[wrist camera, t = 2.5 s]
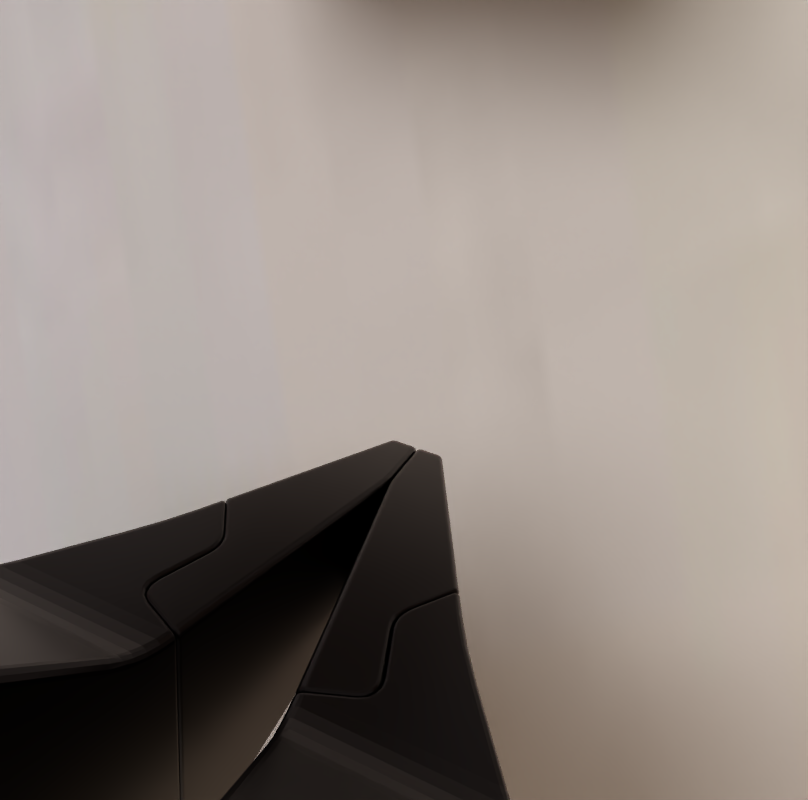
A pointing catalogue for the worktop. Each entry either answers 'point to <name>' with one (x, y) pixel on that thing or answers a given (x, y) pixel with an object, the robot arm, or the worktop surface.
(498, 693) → the worktop surface
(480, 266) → the worktop surface
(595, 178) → the worktop surface
